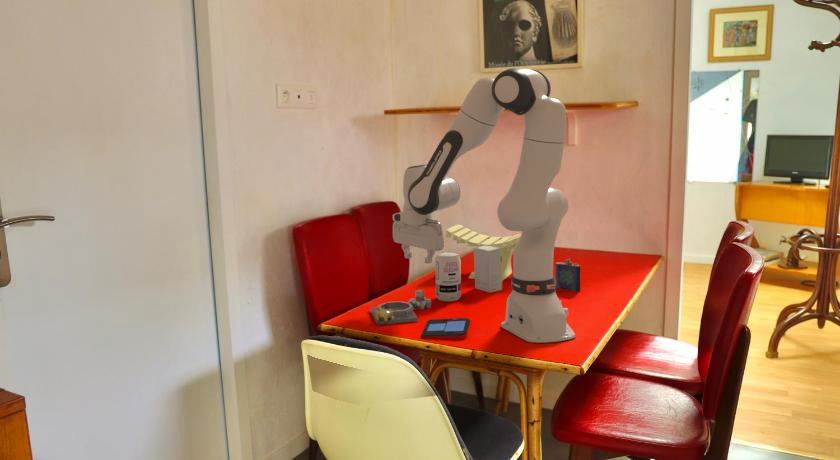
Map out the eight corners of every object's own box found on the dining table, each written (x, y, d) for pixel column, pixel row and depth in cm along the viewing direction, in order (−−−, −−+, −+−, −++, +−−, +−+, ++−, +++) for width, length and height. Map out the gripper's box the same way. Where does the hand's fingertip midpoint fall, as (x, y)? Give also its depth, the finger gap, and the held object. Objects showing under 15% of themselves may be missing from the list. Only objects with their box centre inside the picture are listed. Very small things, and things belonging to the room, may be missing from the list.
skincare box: (502, 290, 224) (502, 248, 221) (488, 293, 220) (488, 250, 218) (486, 285, 230) (486, 244, 228) (473, 288, 227) (473, 246, 225)
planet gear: (433, 308, 204) (432, 293, 204) (411, 310, 203) (411, 294, 202) (428, 302, 211) (427, 287, 210) (406, 304, 210) (406, 289, 209)
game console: (427, 323, 192) (427, 315, 191) (471, 324, 190) (471, 317, 189) (419, 339, 178) (419, 332, 177) (466, 341, 176) (466, 333, 175)
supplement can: (447, 293, 221) (447, 250, 218) (465, 298, 215) (465, 253, 213) (430, 298, 215) (430, 254, 213) (449, 303, 210) (448, 257, 207)
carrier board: (418, 321, 192) (418, 311, 191) (377, 325, 189) (377, 314, 189) (408, 308, 205) (408, 298, 205) (370, 311, 203) (369, 301, 202)
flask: (553, 288, 225) (554, 257, 223) (557, 286, 227) (558, 256, 225) (578, 292, 219) (579, 261, 217) (582, 290, 221) (583, 259, 220)
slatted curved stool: (535, 272, 247) (536, 226, 244) (525, 282, 233) (525, 233, 230) (460, 267, 259) (460, 222, 256) (446, 276, 245) (446, 229, 242)
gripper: (448, 219, 197) (448, 264, 199) (403, 212, 212) (404, 254, 214) (433, 222, 193) (433, 267, 195) (388, 214, 207) (389, 257, 210)
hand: (418, 260), depth 205 cm, fingers open, 8 cm apart
